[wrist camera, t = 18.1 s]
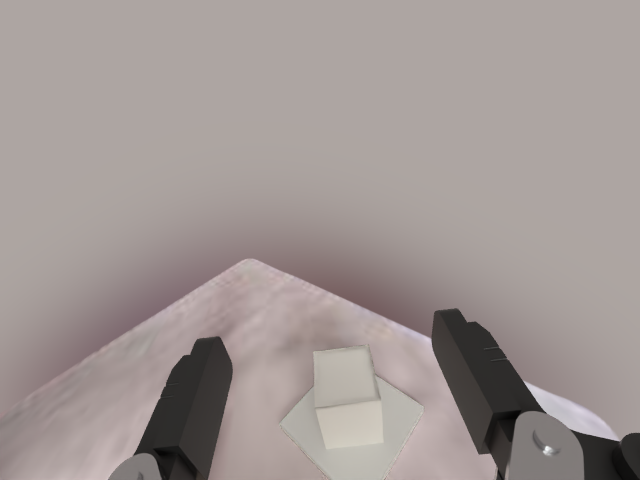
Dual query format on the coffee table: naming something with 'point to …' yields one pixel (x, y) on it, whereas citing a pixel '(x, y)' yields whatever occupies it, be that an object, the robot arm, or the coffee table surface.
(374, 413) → the white rectangular block
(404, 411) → the grey mat
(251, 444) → the coffee table surface
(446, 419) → the coffee table surface
